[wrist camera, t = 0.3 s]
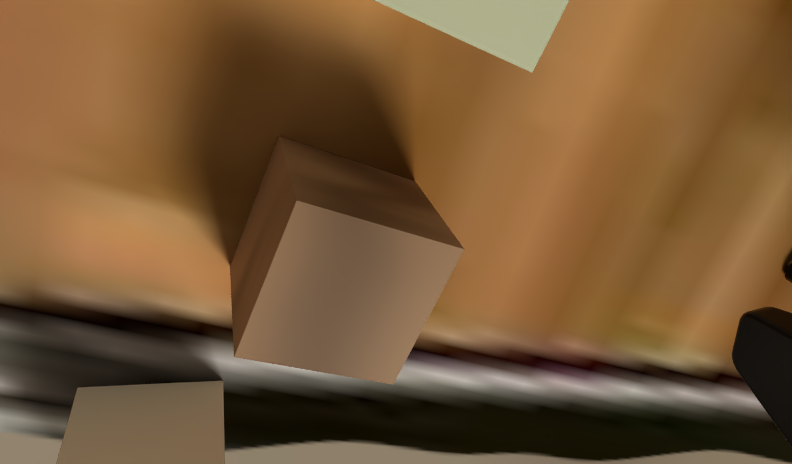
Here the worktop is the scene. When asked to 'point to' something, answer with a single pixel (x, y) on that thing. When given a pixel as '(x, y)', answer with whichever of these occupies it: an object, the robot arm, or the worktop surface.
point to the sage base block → (491, 24)
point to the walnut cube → (337, 266)
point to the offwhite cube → (146, 425)
